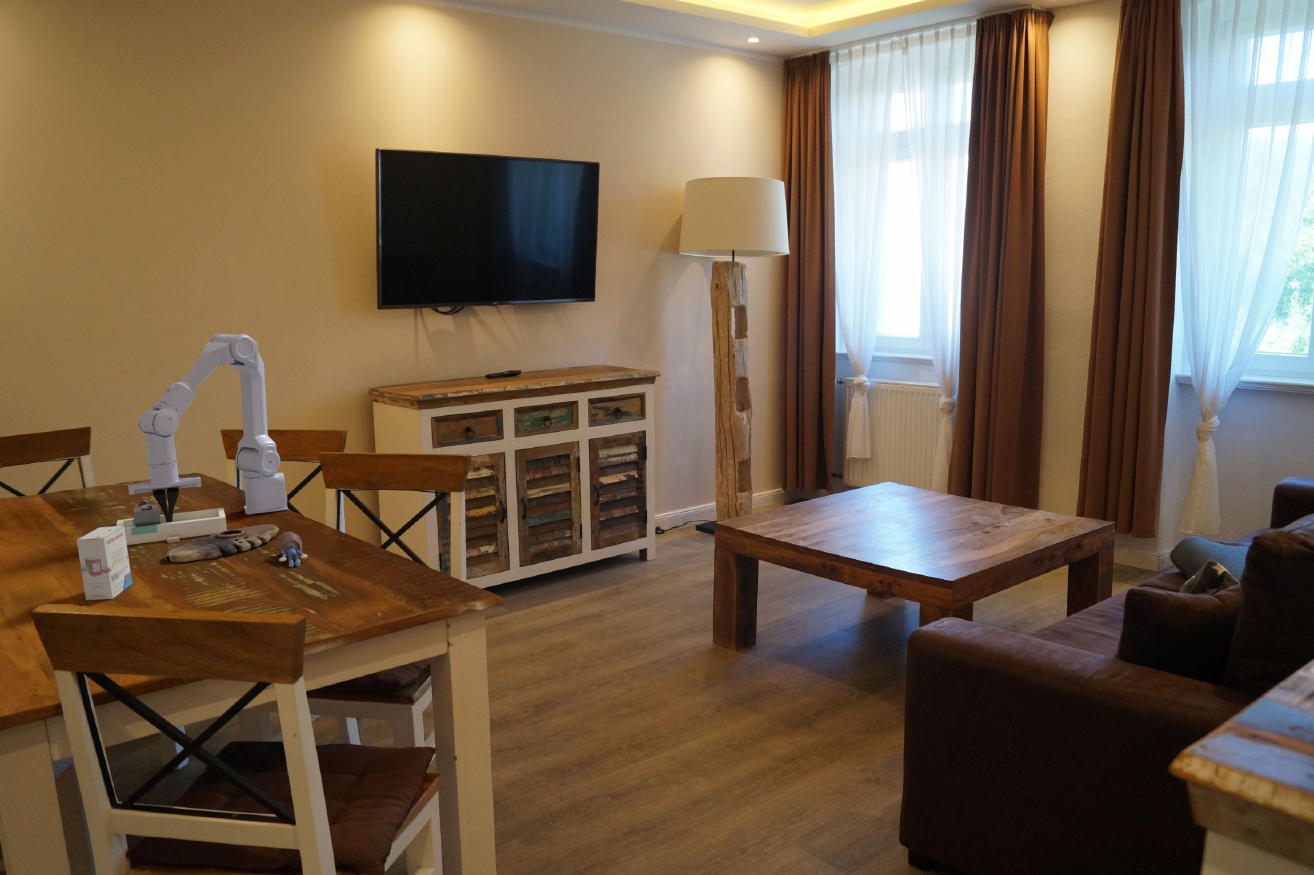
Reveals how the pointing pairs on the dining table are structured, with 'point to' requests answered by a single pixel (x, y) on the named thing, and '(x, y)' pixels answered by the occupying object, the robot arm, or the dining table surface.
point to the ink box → (104, 562)
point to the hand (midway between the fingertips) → (169, 521)
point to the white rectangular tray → (176, 527)
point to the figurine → (290, 548)
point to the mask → (223, 543)
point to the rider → (147, 515)
